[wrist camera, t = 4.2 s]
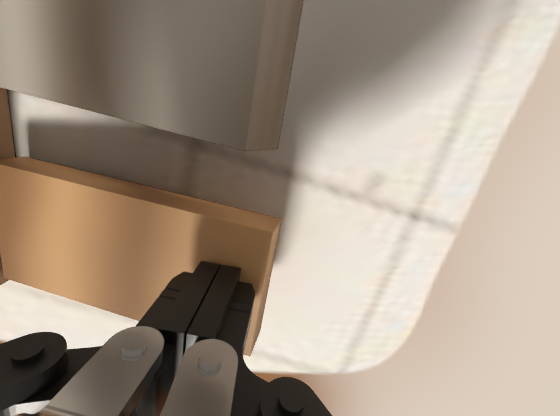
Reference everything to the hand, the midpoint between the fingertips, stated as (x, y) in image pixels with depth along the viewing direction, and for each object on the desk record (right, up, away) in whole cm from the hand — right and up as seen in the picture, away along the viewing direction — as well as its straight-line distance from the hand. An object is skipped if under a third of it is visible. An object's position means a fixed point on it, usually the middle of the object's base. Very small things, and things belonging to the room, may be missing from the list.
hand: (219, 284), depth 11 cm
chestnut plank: (-4, +1, +2) cm, 5 cm away
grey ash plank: (-3, +9, -2) cm, 9 cm away
